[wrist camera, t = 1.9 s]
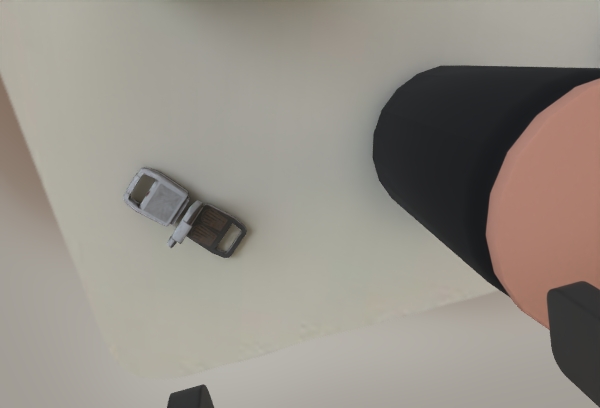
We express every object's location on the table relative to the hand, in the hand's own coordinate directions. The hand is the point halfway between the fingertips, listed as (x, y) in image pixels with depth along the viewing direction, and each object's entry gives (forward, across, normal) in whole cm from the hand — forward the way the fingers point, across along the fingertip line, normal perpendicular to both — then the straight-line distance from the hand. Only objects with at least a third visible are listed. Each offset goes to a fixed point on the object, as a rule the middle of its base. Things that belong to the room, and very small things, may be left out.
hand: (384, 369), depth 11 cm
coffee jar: (+25, -11, +1) cm, 27 cm away
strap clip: (+25, +8, +1) cm, 26 cm away
